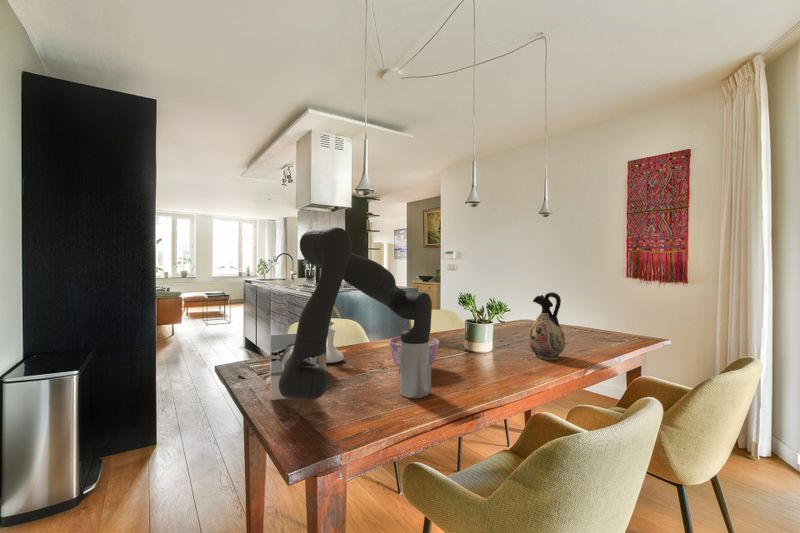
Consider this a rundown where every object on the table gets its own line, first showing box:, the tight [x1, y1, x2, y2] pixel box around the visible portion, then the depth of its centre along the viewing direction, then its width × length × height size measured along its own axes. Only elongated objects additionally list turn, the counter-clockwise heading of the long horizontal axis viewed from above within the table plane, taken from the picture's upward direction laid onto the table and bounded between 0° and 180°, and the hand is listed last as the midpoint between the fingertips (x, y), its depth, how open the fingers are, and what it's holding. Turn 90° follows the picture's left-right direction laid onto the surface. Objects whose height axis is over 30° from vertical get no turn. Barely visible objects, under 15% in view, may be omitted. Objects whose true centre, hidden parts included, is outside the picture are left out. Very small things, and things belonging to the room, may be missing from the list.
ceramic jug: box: [528, 291, 566, 361], centre depth 162 cm, size 17×15×30 cm
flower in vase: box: [326, 304, 345, 364], centre depth 154 cm, size 13×11×25 cm
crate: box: [269, 361, 288, 401], centre depth 118 cm, size 12×11×9 cm
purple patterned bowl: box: [388, 335, 440, 368], centre depth 143 cm, size 20×20×12 cm
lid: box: [270, 332, 297, 372], centre depth 113 cm, size 12×11×1 cm
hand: (291, 347), depth 113 cm, fingers closed
